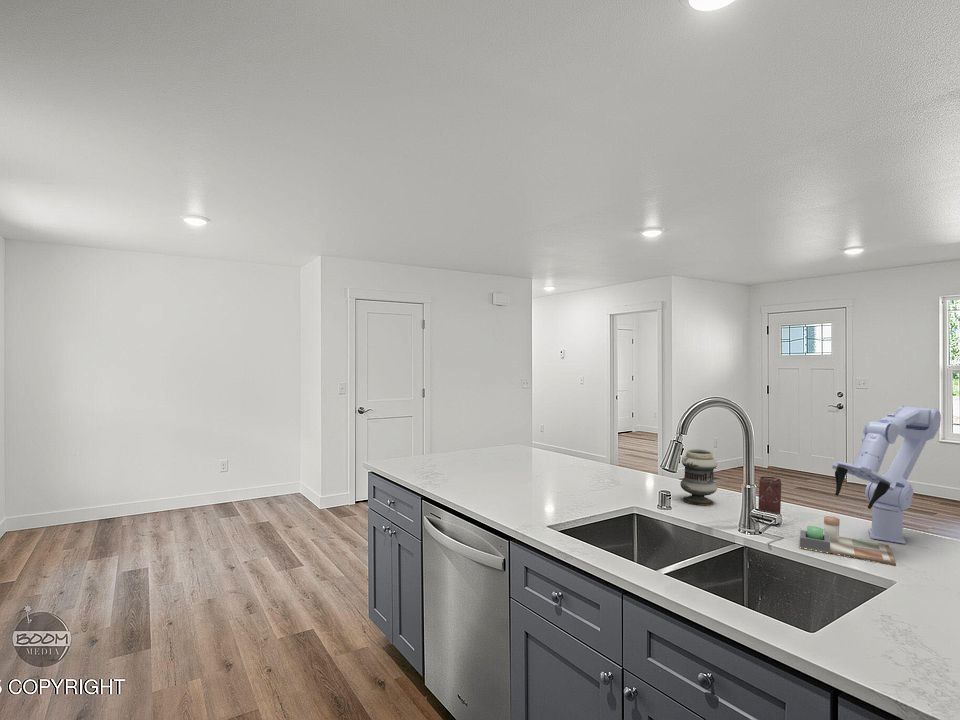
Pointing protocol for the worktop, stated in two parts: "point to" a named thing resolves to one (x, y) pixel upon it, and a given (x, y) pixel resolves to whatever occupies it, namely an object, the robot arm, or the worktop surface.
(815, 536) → the button
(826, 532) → the marker
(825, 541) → the button housing
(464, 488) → the worktop surface
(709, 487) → the apothecary jar
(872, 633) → the worktop surface
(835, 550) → the board
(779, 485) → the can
